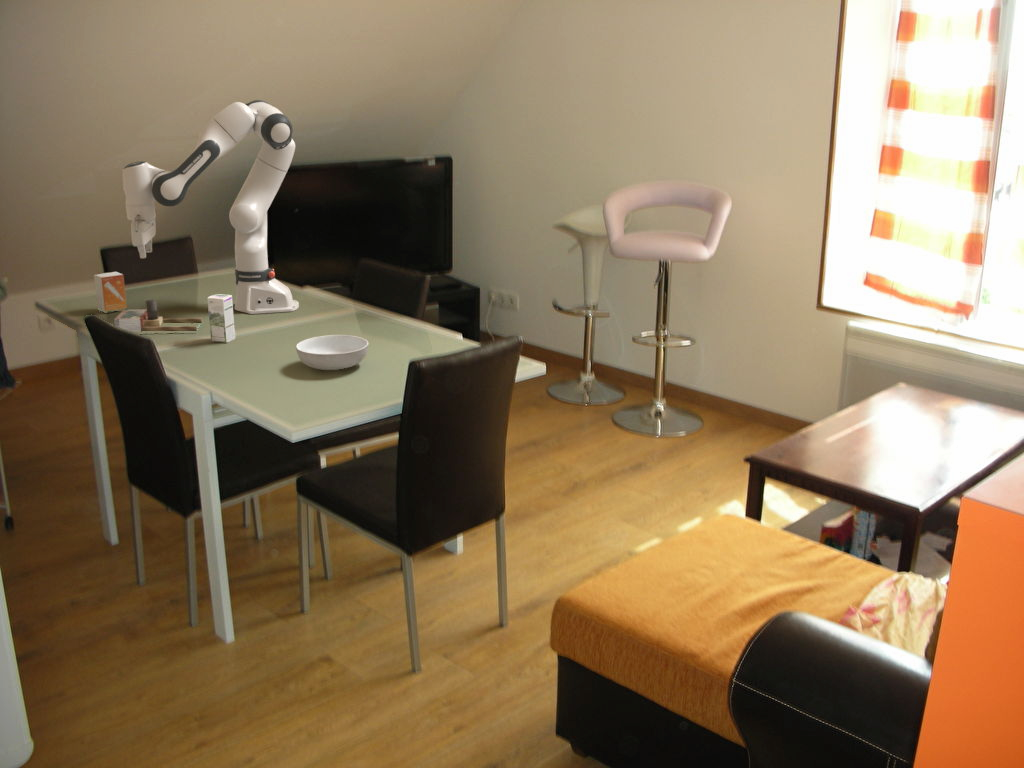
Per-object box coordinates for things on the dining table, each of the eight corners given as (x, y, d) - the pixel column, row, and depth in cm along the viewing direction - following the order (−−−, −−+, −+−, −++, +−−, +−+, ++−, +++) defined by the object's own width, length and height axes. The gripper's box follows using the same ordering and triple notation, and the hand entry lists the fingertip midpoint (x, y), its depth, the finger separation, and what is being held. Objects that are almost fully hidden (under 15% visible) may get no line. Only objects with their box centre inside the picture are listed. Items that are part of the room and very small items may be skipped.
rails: (202, 322, 352) (201, 318, 351) (196, 331, 341) (196, 326, 341) (146, 323, 350) (146, 319, 349) (139, 332, 339) (139, 327, 339)
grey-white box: (149, 323, 351) (148, 309, 349) (141, 334, 338) (139, 319, 337) (125, 324, 350) (123, 309, 348) (115, 334, 338) (114, 319, 336)
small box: (105, 314, 362) (100, 277, 358) (97, 310, 367) (93, 274, 363) (127, 310, 368) (123, 274, 364) (119, 307, 372) (115, 271, 368)
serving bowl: (336, 352, 321) (335, 330, 319) (383, 365, 309) (383, 342, 306) (282, 367, 306) (280, 344, 304) (330, 381, 293) (328, 358, 291)
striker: (164, 324, 349) (161, 298, 346) (159, 330, 341) (156, 303, 339) (144, 324, 348) (142, 298, 345) (139, 330, 341) (136, 303, 338)
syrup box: (236, 338, 334) (232, 294, 330) (226, 343, 329) (222, 298, 324) (220, 337, 336) (216, 292, 331) (210, 341, 330) (206, 297, 326)
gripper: (144, 217, 330) (149, 261, 334) (157, 207, 349) (161, 248, 353) (123, 218, 329) (129, 261, 333) (137, 208, 348) (142, 249, 352)
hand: (146, 255), depth 343 cm, fingers open, 8 cm apart
